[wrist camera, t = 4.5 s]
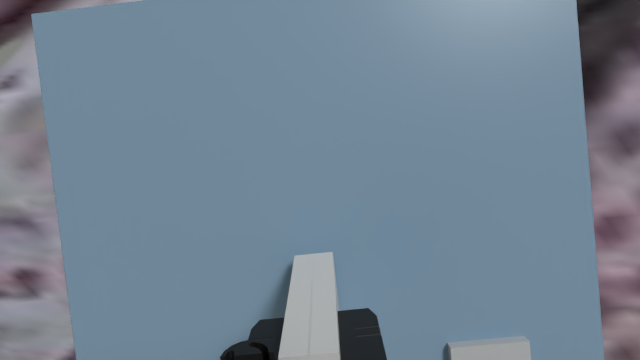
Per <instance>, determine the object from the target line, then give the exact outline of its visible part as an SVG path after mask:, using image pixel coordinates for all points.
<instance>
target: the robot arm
mask: <svg viewBox="0 0 640 360" xmlns="http://www.w3.org/2000/svg"><path fill="white" fill-rule="evenodd" d="M220 360H387V357H386V353H385V348H384V344H383V340H382V336H381V332H380V327H379V323H378V319H377V315H376V314H374V313H373V312H372V311H371V310H370V309H369V308H363V309H353V310H343V311H339V304H338V295H337V286H336V277H335V268H334V258H333V252H325V253H315V254H305V255H296V256H294V262H293V268H292V275H291V281H290V287H289V293H288V299H287V306H286V312H285V317H283V318H273V319H263V320H259V321H258V322H257V323H256V324H255V326H254V327H253V328H252V329H251V331H250V335H249V338H248V340H246V341H241V342H239V343H236V344H234V345H232V346H230V347H229V348H228V349H226V350H225V351H224V352H223V354H222V355H221V356H220Z"/></svg>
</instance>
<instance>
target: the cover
mask: <svg viewBox="0 0 640 360" xmlns="http://www.w3.org/2000/svg"><path fill="white" fill-rule="evenodd" d="M31 16H32V23H33V31H34V39H35V46H36V54H37V62H38V69H39V77H40V85H41V92H42V100H43V108H44V115H45V123H46V131H47V138H48V146H49V154H50V161H51V169H52V177H53V184H54V192H55V200H56V207H57V215H58V223H59V230H60V238H61V246H62V253H63V261H64V269H65V276H66V284H67V291H68V299H69V307H70V314H71V322H72V330H73V337H74V345H75V353H76V360H220V356H221V355H222V354H223V352H224V351H225V350H226V349H228V348H229V347H230V346H232V345H234V344H236V343H239V342H241V341H246V340H248V338H249V335H250V331H251V329H252V328H253V327H254V326H255V324H256V323H257V322H258V321H259V320H263V319H273V318H283V317H285V312H286V306H287V299H288V293H289V287H290V281H291V275H292V268H293V262H294V256H296V255H305V254H315V253H325V252H333V258H334V268H335V277H336V286H337V295H338V304H339V311H343V310H353V309H363V308H369V309H370V310H371V311H372V312H373V313H374V314H376V315H377V319H378V323H379V327H380V332H381V336H382V340H383V344H384V348H385V353H386V357H387V360H604V350H603V337H602V324H601V311H600V298H599V285H598V273H597V260H596V247H595V234H594V221H593V208H592V196H591V183H590V170H589V157H588V144H587V131H586V119H585V106H584V93H583V80H582V67H581V54H580V42H579V29H578V16H577V3H576V0H144V1H136V2H128V3H119V4H111V5H103V6H94V7H86V8H78V9H70V10H61V11H53V12H45V13H37V14H31Z"/></svg>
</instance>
